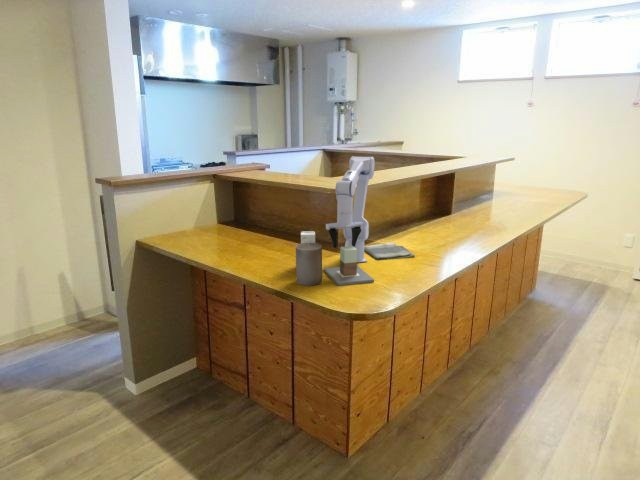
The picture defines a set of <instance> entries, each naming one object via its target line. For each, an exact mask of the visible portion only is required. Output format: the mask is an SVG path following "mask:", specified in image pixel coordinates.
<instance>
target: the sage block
mask: <svg viewBox="0 0 640 480" xmlns="http://www.w3.org/2000/svg"><path fill="white" fill-rule="evenodd" d="M339 249H340V251H339V252H340V253H339V261H340V260H341V261H342V262H343V263H354V262H357V249H356V248H355V247H353V246H347V247H345V246H340V247H339ZM357 263H358V262H357Z"/></svg>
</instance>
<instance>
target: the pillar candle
mask: <svg viewBox="0 0 640 480" xmlns="http://www.w3.org/2000/svg"><path fill="white" fill-rule="evenodd" d="M322 247H323V246H322V244H319V243H317V242H315V243H302V244H301V243H299V244H298V243H297V244H296V245H295V274H296V275H295V279H296V284H298V285H302V286H304V287H305V286H306V287H311V286H317V285H320V284H321V283H322V282H323V248H322Z"/></svg>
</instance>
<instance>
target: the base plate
mask: <svg viewBox="0 0 640 480" xmlns="http://www.w3.org/2000/svg"><path fill="white" fill-rule="evenodd" d="M323 271H324V272H325V274H327V276H329V278H330V279H331V280H332V281H333V282H334V283H335V285H336V286H346V285H347V286H349V285H357V284H369V283H374V282H375V279H374V278H373V277H372V276H370V275H369V274H368V273H367V272H366V271H364V270H363V269H362V268H361V267H360V266H359V265H357V275H351V276H344V275H343V274H341V273H340V266H333V267H324V268H323Z"/></svg>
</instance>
